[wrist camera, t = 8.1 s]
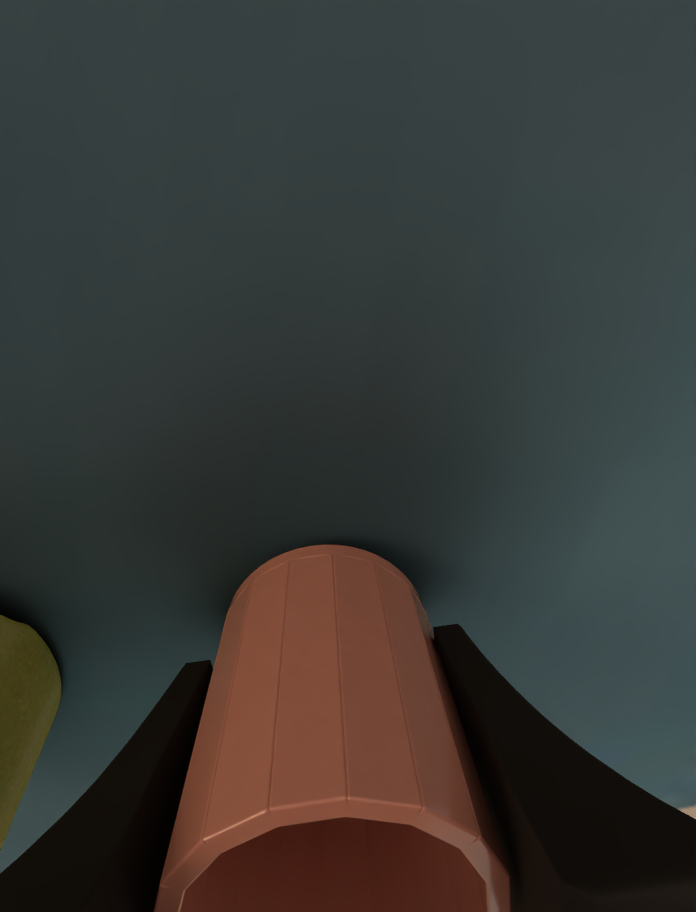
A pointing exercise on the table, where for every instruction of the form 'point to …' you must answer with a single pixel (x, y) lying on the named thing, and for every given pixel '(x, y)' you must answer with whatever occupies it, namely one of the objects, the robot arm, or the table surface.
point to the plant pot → (23, 710)
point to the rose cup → (331, 756)
